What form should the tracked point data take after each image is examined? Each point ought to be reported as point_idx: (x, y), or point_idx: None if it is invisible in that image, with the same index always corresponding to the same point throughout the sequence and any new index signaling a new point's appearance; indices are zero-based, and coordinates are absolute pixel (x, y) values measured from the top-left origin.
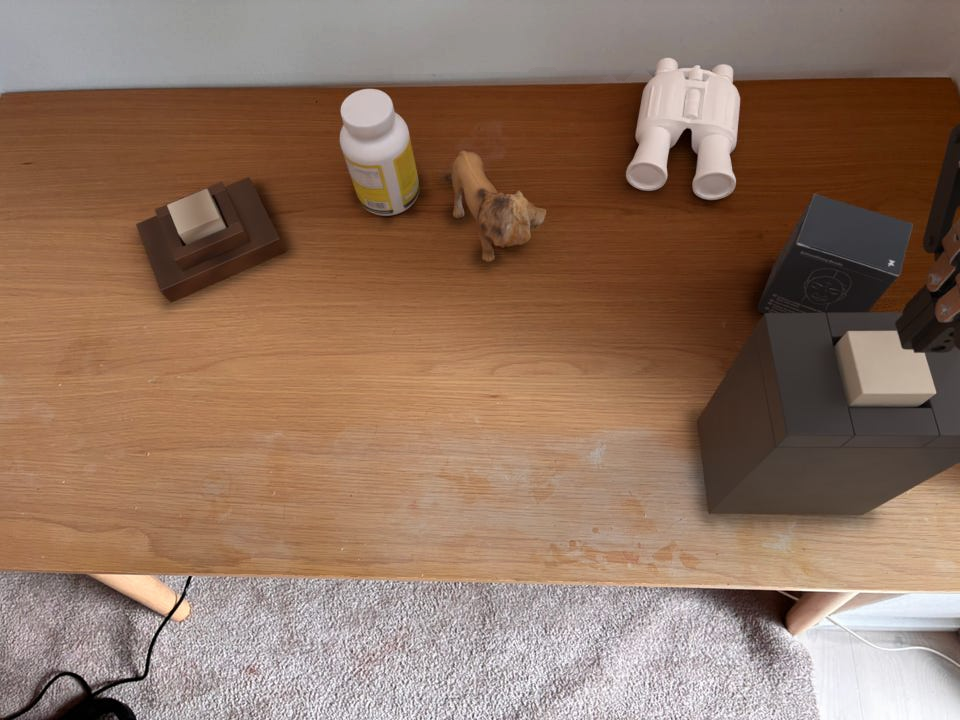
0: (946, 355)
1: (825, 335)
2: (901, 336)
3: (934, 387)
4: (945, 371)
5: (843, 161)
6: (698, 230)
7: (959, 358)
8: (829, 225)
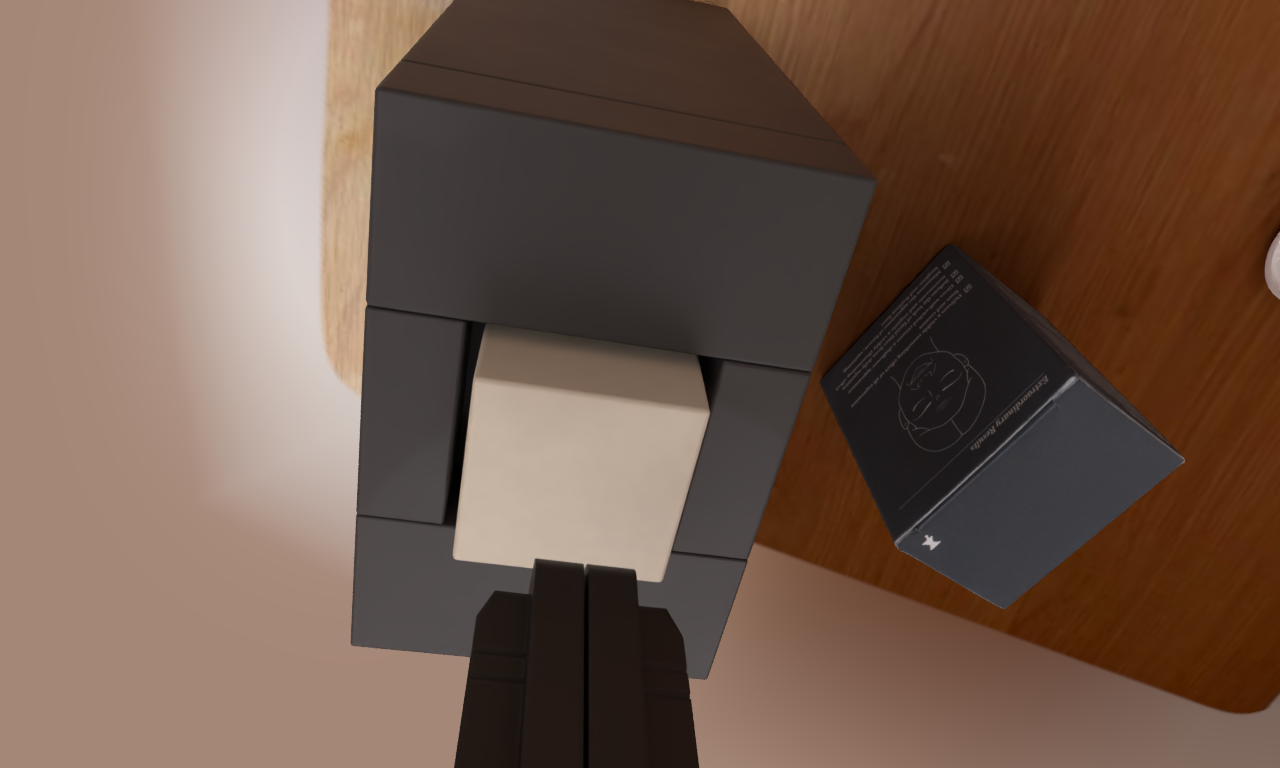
0: None
1: (732, 344)
2: (569, 576)
3: (471, 561)
4: None
5: (1199, 518)
6: (1212, 182)
7: None
8: (1085, 461)
